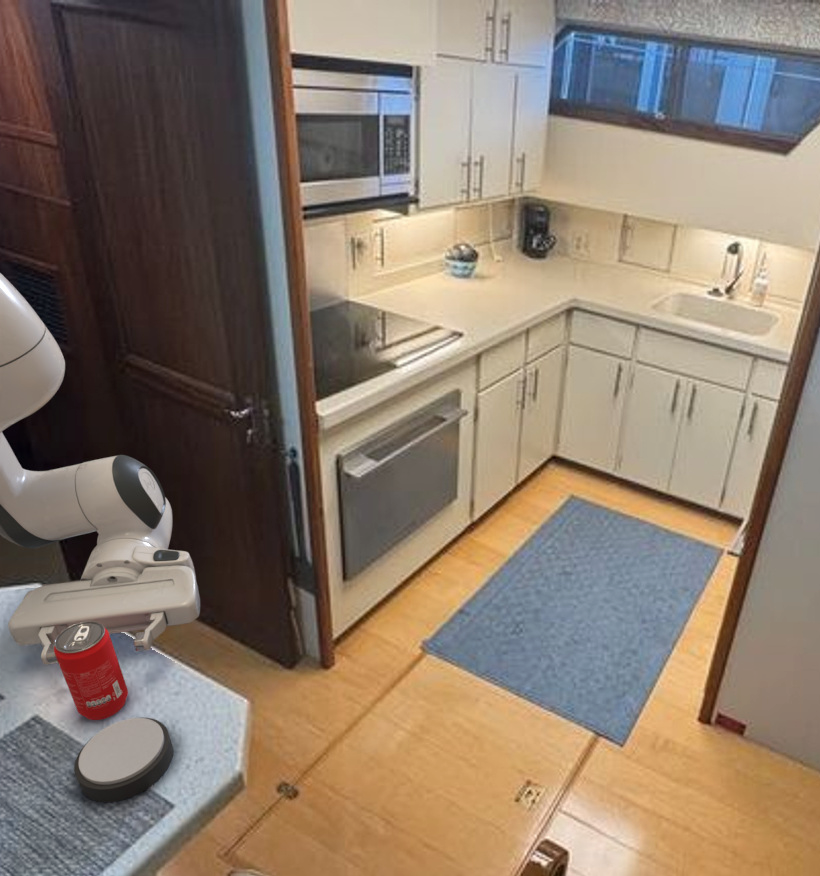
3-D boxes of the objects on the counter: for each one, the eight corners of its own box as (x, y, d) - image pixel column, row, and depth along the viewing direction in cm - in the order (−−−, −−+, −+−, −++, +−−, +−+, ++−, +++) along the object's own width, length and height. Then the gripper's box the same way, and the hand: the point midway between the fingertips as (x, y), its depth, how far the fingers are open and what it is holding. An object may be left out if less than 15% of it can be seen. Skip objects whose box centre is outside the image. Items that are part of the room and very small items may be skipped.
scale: (71, 757, 79) (64, 741, 77) (160, 717, 85) (155, 701, 83) (89, 818, 74) (82, 802, 72) (183, 771, 79) (178, 755, 78)
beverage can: (72, 726, 82) (43, 656, 76) (87, 690, 86) (61, 621, 80) (122, 720, 84) (98, 651, 78) (135, 685, 88) (113, 617, 82)
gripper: (22, 569, 90) (-19, 649, 79) (201, 550, 97) (186, 622, 86) (36, 604, 93) (-2, 687, 82) (208, 584, 100) (195, 657, 89)
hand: (96, 653), depth 84 cm, fingers open, 8 cm apart
